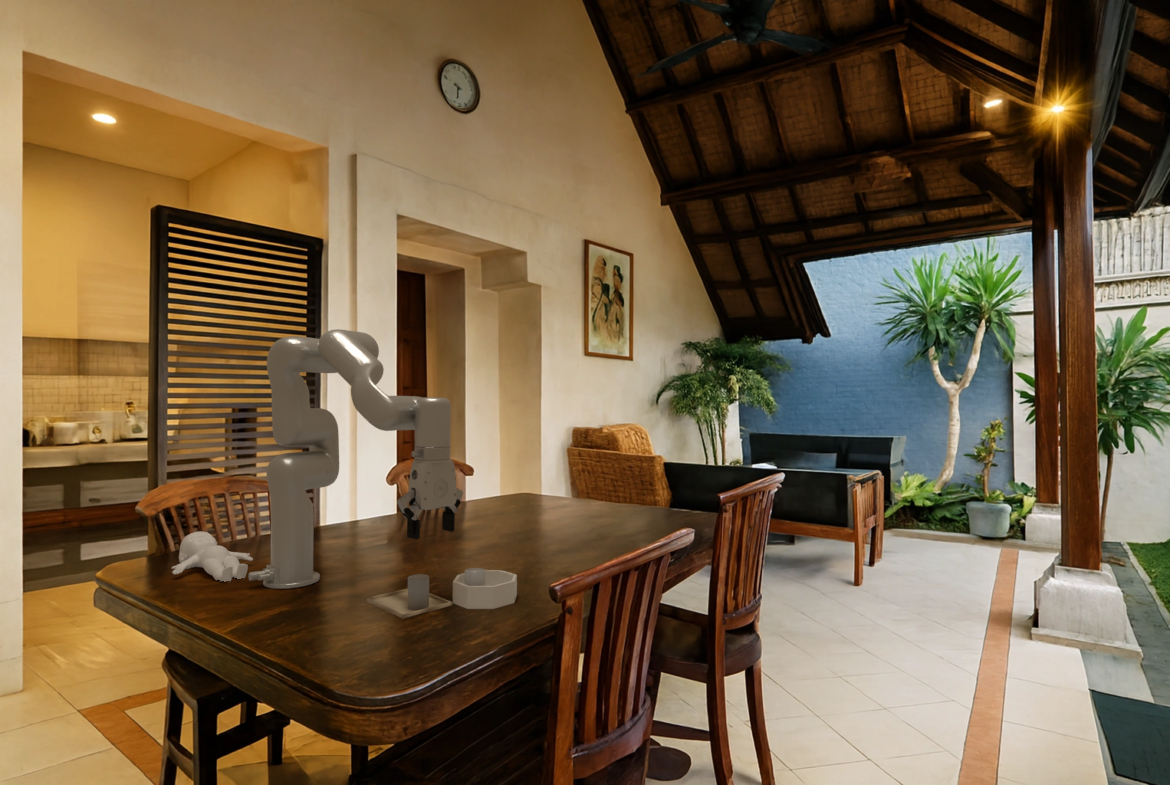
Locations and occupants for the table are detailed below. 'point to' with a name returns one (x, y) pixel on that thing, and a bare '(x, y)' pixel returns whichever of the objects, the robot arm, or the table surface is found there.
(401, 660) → the table surface
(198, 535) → the doll
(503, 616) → the table surface
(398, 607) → the tray
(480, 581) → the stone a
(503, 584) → the bowl
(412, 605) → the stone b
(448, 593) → the table surface
